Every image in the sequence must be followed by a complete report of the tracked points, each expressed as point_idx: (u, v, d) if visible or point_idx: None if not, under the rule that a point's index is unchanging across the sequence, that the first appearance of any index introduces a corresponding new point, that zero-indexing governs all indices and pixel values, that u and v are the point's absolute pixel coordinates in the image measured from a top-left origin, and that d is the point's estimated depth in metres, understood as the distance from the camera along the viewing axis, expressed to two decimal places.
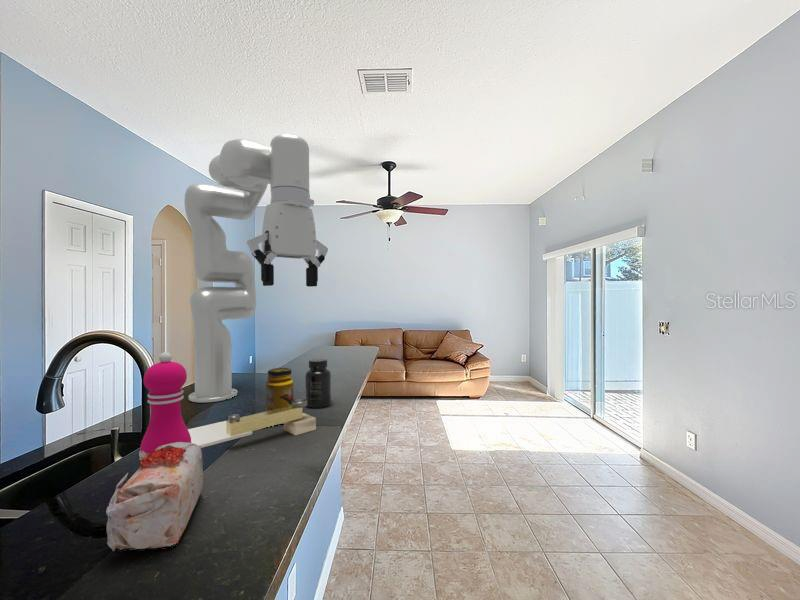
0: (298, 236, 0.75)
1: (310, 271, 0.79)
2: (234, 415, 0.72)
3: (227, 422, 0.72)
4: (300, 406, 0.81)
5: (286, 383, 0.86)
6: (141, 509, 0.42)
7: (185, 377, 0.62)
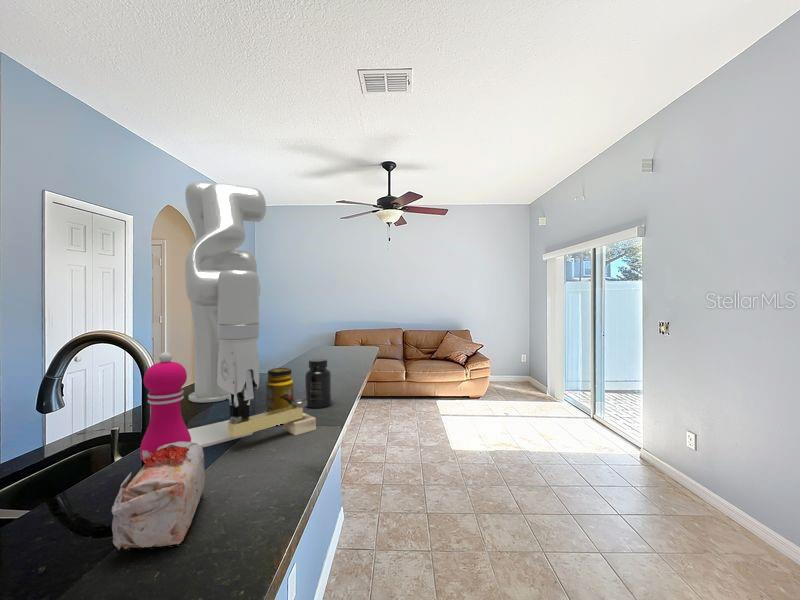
0: None
1: None
2: (236, 416, 0.72)
3: (230, 423, 0.71)
4: (300, 406, 0.81)
5: (286, 383, 0.86)
6: (147, 508, 0.42)
7: (185, 377, 0.62)
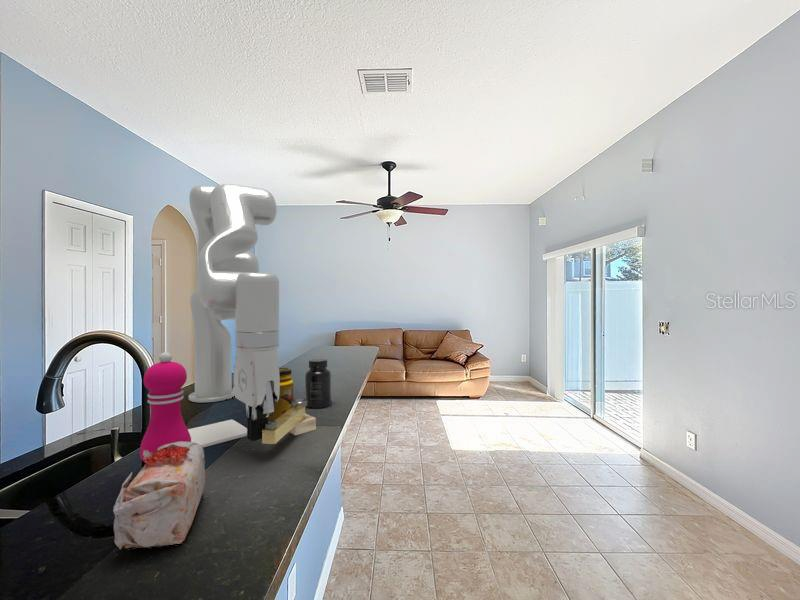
0: None
1: None
2: (270, 422, 0.68)
3: (266, 430, 0.67)
4: (305, 405, 0.81)
5: (286, 383, 0.86)
6: (149, 507, 0.42)
7: (185, 377, 0.62)
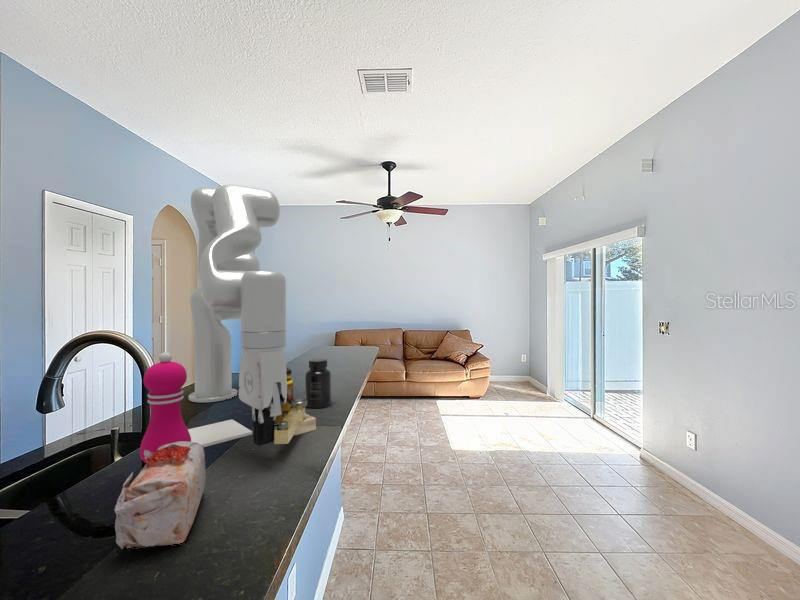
0: None
1: None
2: (282, 422, 0.68)
3: (279, 430, 0.67)
4: (305, 405, 0.82)
5: None
6: (150, 507, 0.42)
7: (185, 377, 0.62)
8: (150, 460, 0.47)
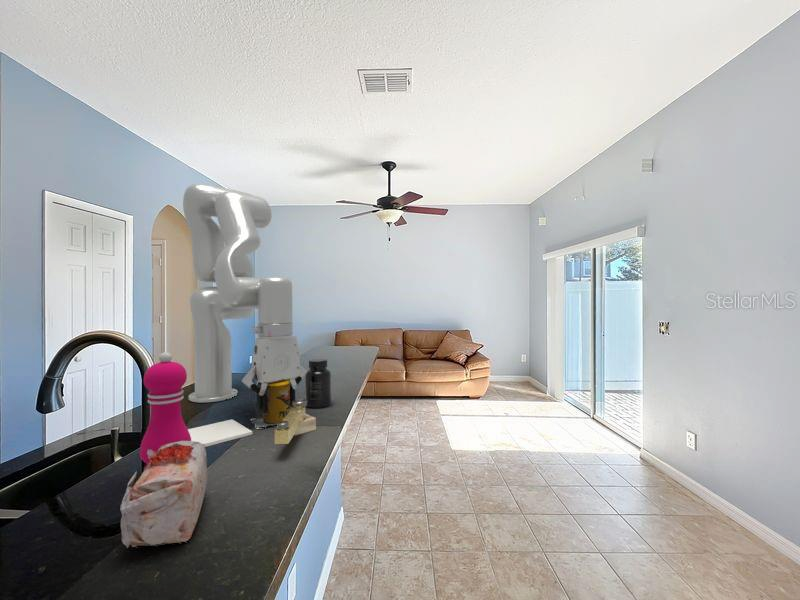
0: None
1: None
2: (282, 422, 0.68)
3: (279, 430, 0.67)
4: (305, 405, 0.82)
5: (283, 384, 0.86)
6: (156, 505, 0.43)
7: (185, 377, 0.62)
8: (154, 459, 0.47)
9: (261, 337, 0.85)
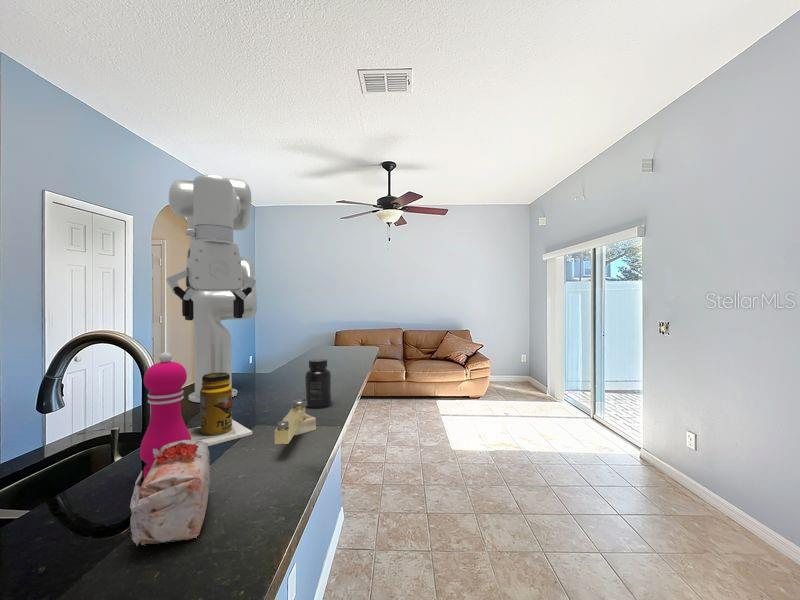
0: None
1: None
2: (282, 422, 0.68)
3: (279, 430, 0.67)
4: (305, 405, 0.82)
5: (221, 390, 0.78)
6: (166, 503, 0.43)
7: (185, 377, 0.62)
8: (160, 458, 0.47)
9: (195, 240, 0.76)
